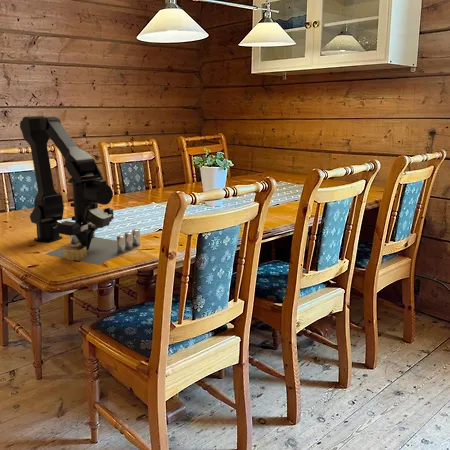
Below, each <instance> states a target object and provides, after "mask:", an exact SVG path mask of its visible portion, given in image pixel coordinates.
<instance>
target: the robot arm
mask: <svg viewBox="0 0 450 450" xmlns="http://www.w3.org/2000/svg"><path fill="white" fill-rule="evenodd" d="M19 128H20V131H21V133H22V138H23V139H24V140H25V142H27V144H28V145H29V147H30V152H31V158H32V164H33V169H34V170H33V171H34V174H35V175H34V176H35V181H36V187H37V193H36V196H35V198H34V202H33V203H34V207H33V209H32V211H31V213H30V215H29V219H30V222H31V224H35V227H36V235H37V237H35V238H34V237H33V241H36V242H41V243H47V244H49V243H52V242H55V241H58V240H61V239H63V236H62V235H66V236H71V235H75V236H76V237H77V238H78V241H79V242H80V243H81V244H82V246H86V250H89V247H90V243H91V240H92V237H93V234H94V232H96V231H97V230H98V229H103V228H105V227H107V226H108V227H109V226H110V224H111V223H110V222H112V220H114V219H115V218H114V214H115V213H114V209H113V208H112V207H106V208H99V205H101V206H102V205H103V206H106V205H108V204H109V203H111V201H112V199H113V196H114V191H113V189H112V187H111V186H110V185H108V184H107V180H104V178H103V175H102V172H101V170H100V169H99V167H98V165H97V163H96V160H95V159H94V157H92V156H91V154H89V153H88V152H87V151H85V150H83V149H81V148H80V147H78V145H77V144H76V142H75V141H74V140H73V138H72V137H71V136H70V134H69V133H68V132H67V131H66V129H65V127H64V126H63V124H62V123H61V120H60V118H59V117H57V116H44V115H36V116H34V115H33V116H29V115H28V116H23V118H22V119H21V120H20V122H19ZM50 139H51V141H52V142H53V144H54V145H55V147H56V148H57V150H58V151H59V152H60V153H61V155H62V156H63V159H64V167H65V169H66V171H67V172H68V174H69V176H70V177H71V178H69V179H68V181H67V182H68V183H69V184H72V199H73V202H70V207H72V208H73V212H74V215H73V216H71V221H69V220H64V221H62V220H63V216H64V210H65V205H64V202H63V195H62V194H59V193H58V192H57V191H56V190H55V185H54V180H53V173H52V167H51V160H50V156H49V155H50V154H49V150H48V149H49V148H48V143H49V140H50ZM59 221H61V222H59Z"/></svg>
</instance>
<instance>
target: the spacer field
mask: <svg viewBox="0 0 450 450" xmlns="http://www.w3.org/2000/svg"><path fill="white" fill-rule="evenodd" d="M95 232H96V231H95ZM95 232H94V234H93V237H92V238H95V237H96V233H95ZM69 236H70V235H69ZM78 241H79V240H78V238H77V237H76V236H75V235H71V236H70V244H71V245H76V244H79V242H78ZM116 241H117V253H123V254H126V252H125V249H126V250H129V251H131V250H133V249H134V248H133V246H137V247H140V246H141V229H138V228H134V229H132V230H131V231H126V232H124V235H119V234H118V235H116Z"/></svg>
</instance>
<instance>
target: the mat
mask: <svg viewBox="0 0 450 450" xmlns="http://www.w3.org/2000/svg"><path fill="white" fill-rule="evenodd" d="M78 242H79V240H78ZM79 244H81V243H80V242H79ZM67 245H71V243H68V244H66V245H64V246H61V247H59V248H56V249H54V250H52V251H48V252H46V253H45V255H48V256H51V257H52V256H53V257H58V258H63V259H64V255H63V247H67ZM137 247H138V246H133V249H136V248H137ZM129 251H130V250H126V249H125V253H126V252H129ZM123 254H124V253H117V239H116V240H115V239H109V238H103V237H97V236H95V238H92V240H91V243H90V247H89V250H87V257H84V258H83V259H81V260H76V262H77V261H78V262H83V263H87V264H92V265H98V266H99V265H102V264H103V263H106V262H108V261H110V260H111V259H114V258H116V257H119V256H120V255H123Z"/></svg>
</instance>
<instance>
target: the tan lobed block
mask: <svg viewBox="0 0 450 450" xmlns="http://www.w3.org/2000/svg"><path fill="white" fill-rule="evenodd" d="M66 245H67V247H64V246H62V247H63V255H64V258H63V260H64V259H65V260H67V261H71V262H72V261H77V260H81V259H83V258H84V257H87V250H86V246H82V244H76V245H69V244H66Z"/></svg>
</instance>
